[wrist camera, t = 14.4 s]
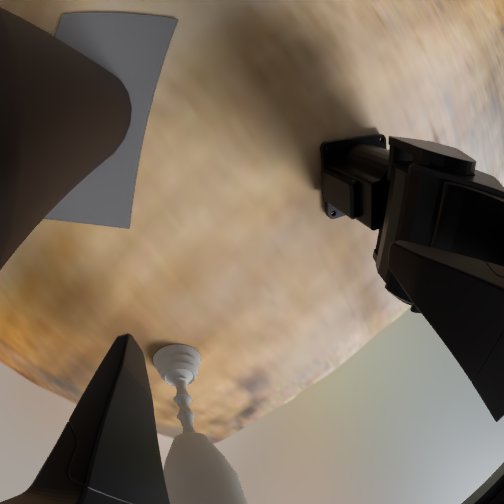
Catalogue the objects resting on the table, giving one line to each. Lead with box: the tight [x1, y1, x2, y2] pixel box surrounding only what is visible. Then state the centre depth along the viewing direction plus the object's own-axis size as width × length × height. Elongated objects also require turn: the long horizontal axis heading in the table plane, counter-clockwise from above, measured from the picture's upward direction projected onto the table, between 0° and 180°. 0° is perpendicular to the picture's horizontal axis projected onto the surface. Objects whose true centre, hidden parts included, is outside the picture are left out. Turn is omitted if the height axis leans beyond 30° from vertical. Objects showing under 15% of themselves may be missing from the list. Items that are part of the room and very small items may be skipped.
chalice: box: [153, 344, 247, 504], centre depth 19 cm, size 7×7×18 cm
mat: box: [43, 12, 178, 229], centre depth 14 cm, size 8×15×1 cm, turn 164°
